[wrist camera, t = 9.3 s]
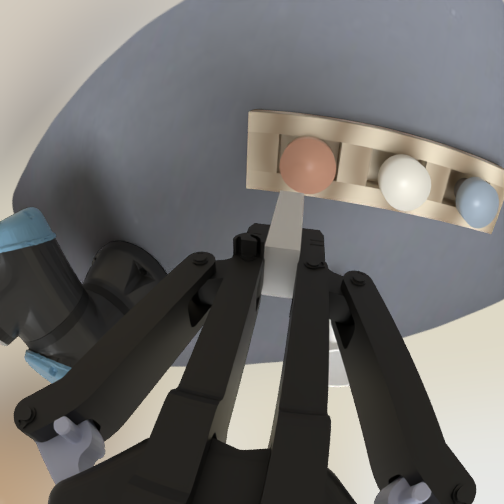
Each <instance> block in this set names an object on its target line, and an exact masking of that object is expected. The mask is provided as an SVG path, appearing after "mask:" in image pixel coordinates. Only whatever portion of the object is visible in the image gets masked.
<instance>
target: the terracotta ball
mask: <svg viewBox="0 0 504 504" xmlns="http://www.w3.org/2000/svg"><path fill="white" fill-rule="evenodd" d="M280 173H281V176H282V178H283V180H284V182H285V183H286V184H287V185H288V186H289V187H290V188H291V189H293V190H295V191H297V192H299V193H304V194H315V193H319V192H321V191H323V190H325V189H326V188H327V187H328V186H329V185H330V184H331V183H332V181H333V180H334V177H335V174H336V162H335V158H334V155H333V152H332V150H331V149H330V147H329V146H328V145H327V144H326V143H325V142H324V141H322V140H320V139H318V138H315V137H310V136H304V137H300V138H297V139H295V140H293V141H292V142H290V143H289V144H288V145H287V147H286V148H285V150H284V152H283V154H282V156H281V159H280Z"/></svg>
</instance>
